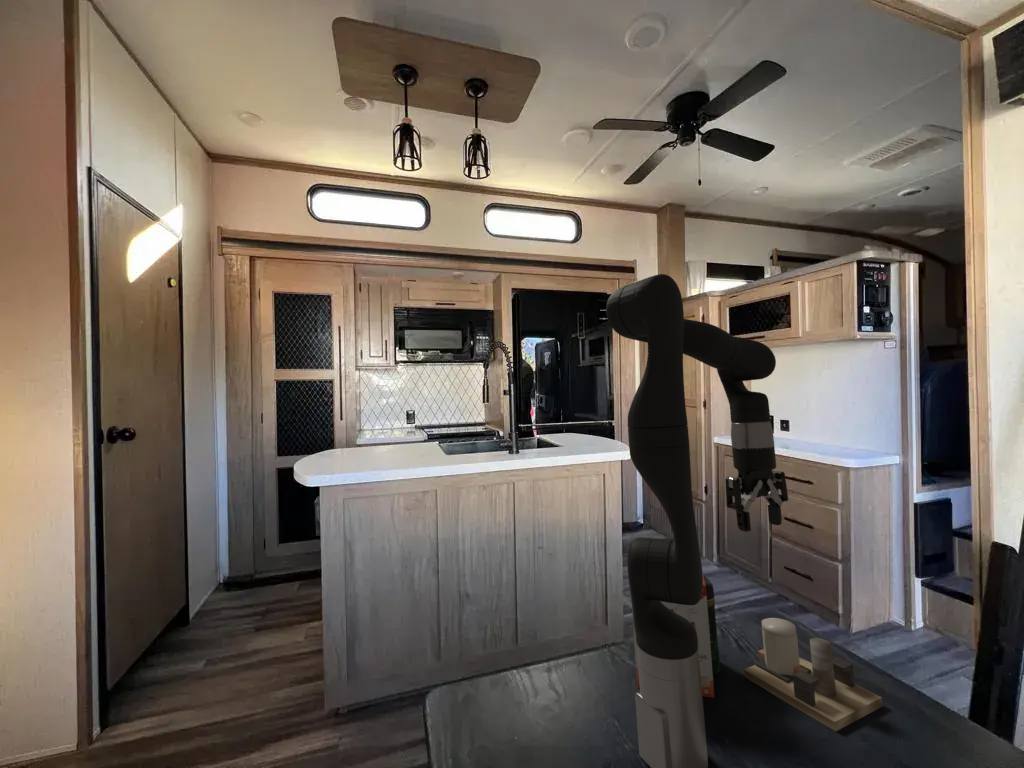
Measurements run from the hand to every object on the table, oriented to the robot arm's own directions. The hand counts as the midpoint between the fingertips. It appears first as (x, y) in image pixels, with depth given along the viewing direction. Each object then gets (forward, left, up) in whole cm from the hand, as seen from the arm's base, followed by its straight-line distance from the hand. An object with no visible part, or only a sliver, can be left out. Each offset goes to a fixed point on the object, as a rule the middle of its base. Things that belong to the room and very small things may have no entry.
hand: (760, 527), depth 88 cm
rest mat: (+3, 0, -28) cm, 28 cm away
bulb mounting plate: (+3, -5, -29) cm, 30 cm away
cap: (+3, 0, -27) cm, 27 cm away
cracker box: (-17, +8, -30) cm, 35 cm away
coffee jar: (-8, +11, -30) cm, 33 cm away
